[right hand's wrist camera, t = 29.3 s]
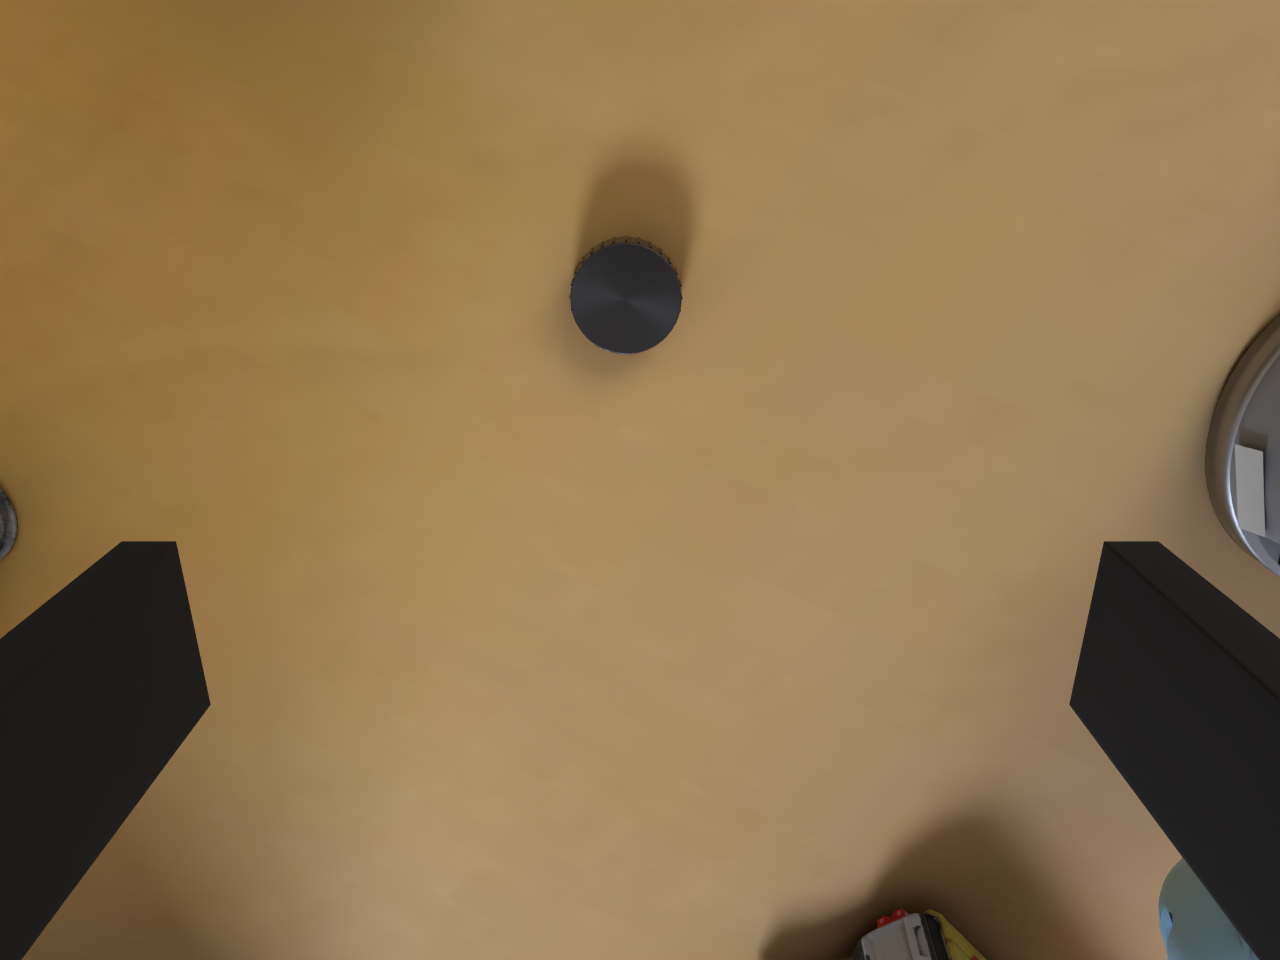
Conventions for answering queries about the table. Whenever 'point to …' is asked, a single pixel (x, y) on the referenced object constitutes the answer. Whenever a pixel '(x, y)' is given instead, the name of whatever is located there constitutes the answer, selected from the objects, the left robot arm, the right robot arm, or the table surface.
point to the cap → (625, 295)
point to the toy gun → (915, 939)
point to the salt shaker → (6, 525)
